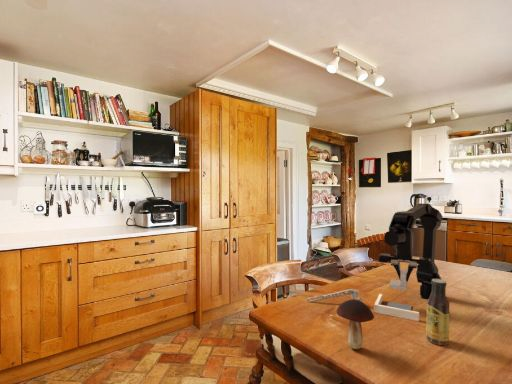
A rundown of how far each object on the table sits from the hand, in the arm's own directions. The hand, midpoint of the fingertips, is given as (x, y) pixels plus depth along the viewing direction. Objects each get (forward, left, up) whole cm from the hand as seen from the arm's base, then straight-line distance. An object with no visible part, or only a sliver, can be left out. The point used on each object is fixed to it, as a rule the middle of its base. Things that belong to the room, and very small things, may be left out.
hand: (403, 281), depth 116 cm
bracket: (+26, +8, -12) cm, 30 cm away
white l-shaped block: (+2, +1, -12) cm, 12 cm away
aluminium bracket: (+2, 0, -3) cm, 3 cm away
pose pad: (+2, 0, -12) cm, 12 cm away
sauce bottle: (-11, +22, -12) cm, 27 cm away
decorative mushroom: (+11, +40, -12) cm, 43 cm away
